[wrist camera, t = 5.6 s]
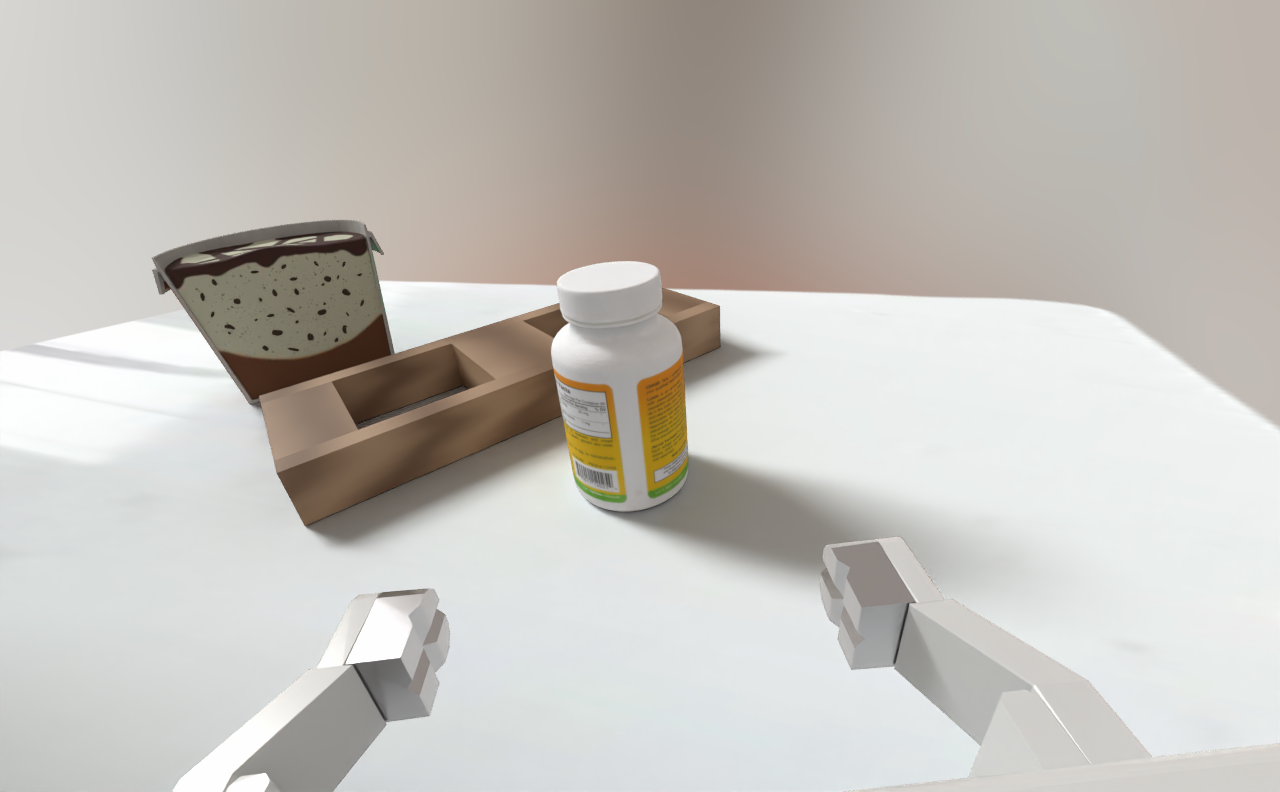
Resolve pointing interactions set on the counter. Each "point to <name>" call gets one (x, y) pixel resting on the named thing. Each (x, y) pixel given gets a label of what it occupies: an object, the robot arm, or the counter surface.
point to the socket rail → (431, 405)
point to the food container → (283, 301)
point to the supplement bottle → (621, 386)
